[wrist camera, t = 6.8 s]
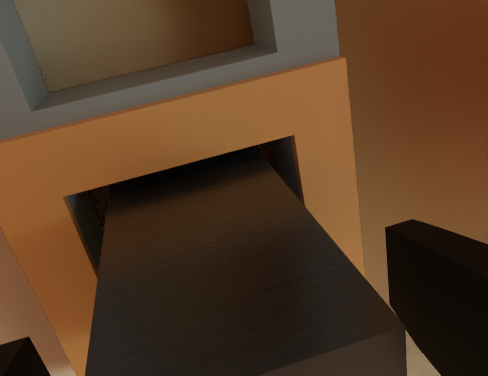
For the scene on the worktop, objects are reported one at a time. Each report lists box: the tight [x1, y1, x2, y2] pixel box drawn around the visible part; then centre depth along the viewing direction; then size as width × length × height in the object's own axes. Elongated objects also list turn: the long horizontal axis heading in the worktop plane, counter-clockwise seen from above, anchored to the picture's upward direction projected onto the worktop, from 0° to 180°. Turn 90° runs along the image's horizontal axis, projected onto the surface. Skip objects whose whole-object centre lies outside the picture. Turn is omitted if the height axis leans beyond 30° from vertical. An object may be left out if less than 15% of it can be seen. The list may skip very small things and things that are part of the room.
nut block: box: [85, 146, 407, 376], centre depth 9 cm, size 4×4×8 cm
